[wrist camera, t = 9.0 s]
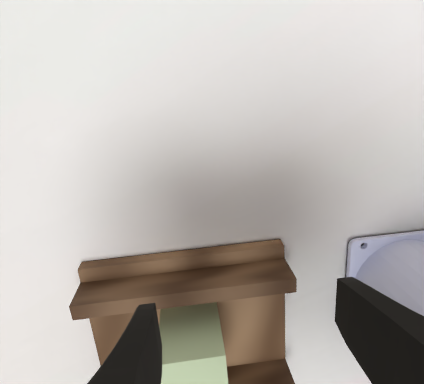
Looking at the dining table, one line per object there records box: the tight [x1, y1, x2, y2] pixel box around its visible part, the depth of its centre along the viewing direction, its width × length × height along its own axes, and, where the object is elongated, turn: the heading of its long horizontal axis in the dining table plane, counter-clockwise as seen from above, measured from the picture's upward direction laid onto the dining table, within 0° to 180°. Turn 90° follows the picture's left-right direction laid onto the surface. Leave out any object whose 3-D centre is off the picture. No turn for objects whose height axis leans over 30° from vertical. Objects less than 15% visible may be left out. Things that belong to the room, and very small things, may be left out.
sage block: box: [159, 302, 228, 384], centre depth 22 cm, size 4×4×5 cm
